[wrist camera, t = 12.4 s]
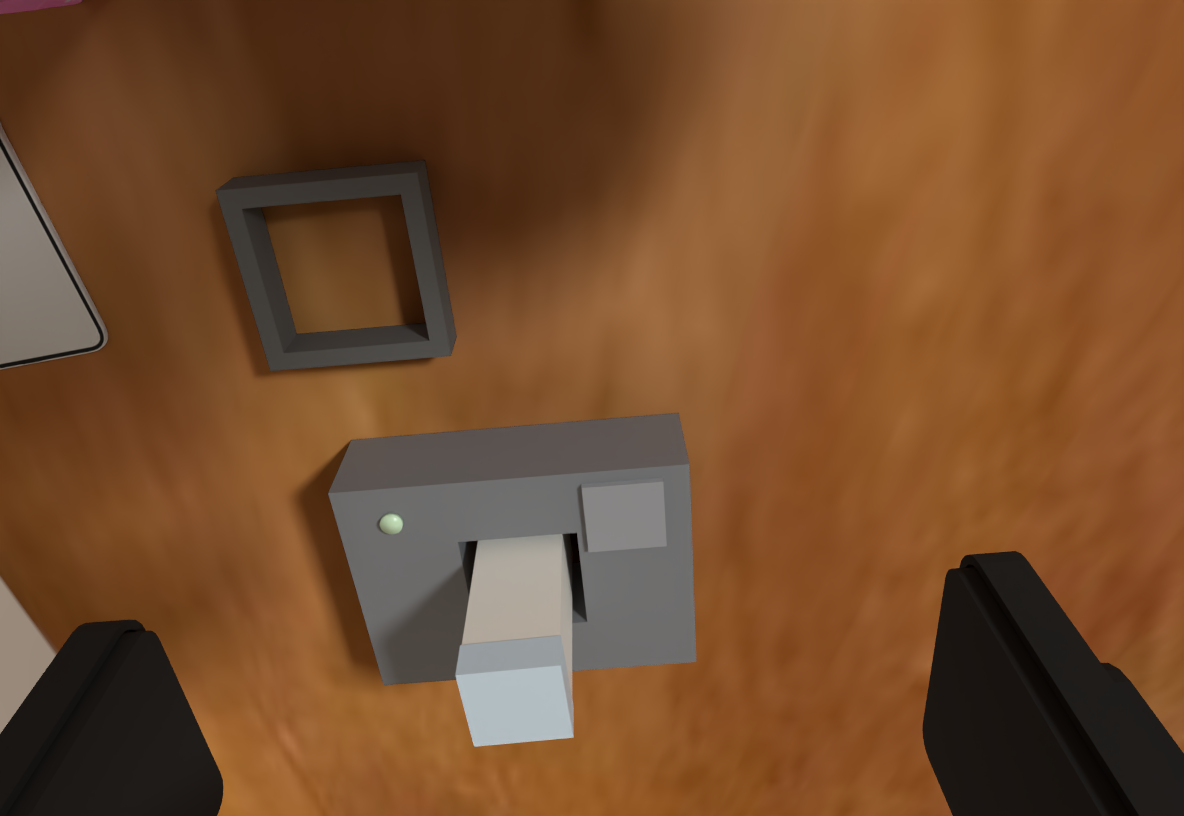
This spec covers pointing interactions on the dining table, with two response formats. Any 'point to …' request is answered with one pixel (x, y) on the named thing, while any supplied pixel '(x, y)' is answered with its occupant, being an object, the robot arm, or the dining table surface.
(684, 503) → the port panel
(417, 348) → the dark square frame
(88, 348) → the smartphone
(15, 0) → the gum box
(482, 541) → the plug
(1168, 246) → the dining table surface
